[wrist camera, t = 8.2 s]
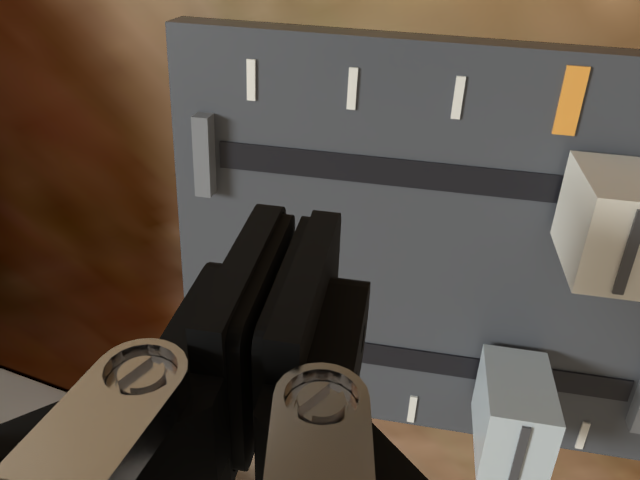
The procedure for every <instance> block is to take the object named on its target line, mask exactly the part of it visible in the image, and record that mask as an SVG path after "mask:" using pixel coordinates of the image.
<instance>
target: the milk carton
mask: <svg viewBox="0 0 640 480" xmlns="http://www.w3.org/2000/svg"><path fill="white" fill-rule="evenodd" d="M66 393H67V392H64V391H62V390H59V389H56V388H53V387H51V386H48V385H45V384H42V383H40V382H37V381H34V380H31V379H29V378H26V377H23V376H21V375H18V374H15V373H12V372H10V371H7V370H4V369H1V368H0V424H1V423H4V422H6V421H9V420H12V419H14V418H17V417H19V416H22V415H24V414H27V413H29V412H32V411H34V410H37V409H39V408H42V407H44V406H47V405H50V404H52V403H55V402H57V401H60V400H61V399H62V397H63V396H64V395H65V394H66Z"/></svg>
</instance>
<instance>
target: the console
mask: <svg viewBox="0 0 640 480" xmlns="http://www.w3.org/2000/svg"><path fill="white" fill-rule="evenodd" d="M165 26H166V40H167V55H168V69H169V84H170V98H171V113H172V127H173V142H174V156H175V171H176V186H177V200H178V215H179V229H180V244H181V258H182V273H183V287H184V298H185V296H186V295H187V293H188V291H189V290H190V288H191V286H192V285H193V283H194V281H195V280H196V278H197V277H198V275H199V273H200V272H201V270H202V268H203V267H204V266H205V264H206V263H208V262H215V263H223V261H224V260H225V258H226V256H227V254H228V253H229V251H230V249H231V247H232V246H233V244H234V242H235V240H236V238H237V237H238V235H239V233H240V231H241V230H242V228H243V226H244V224H245V223H246V221H247V219H248V217H249V216H250V214H251V212H252V210H253V209H254V207H255V205H256V204H265V205H274V206H283V207H285V209H286V214H290V215H294V216H295V230H296V228H297V226H298V223H299V221H300V218H301V216H308V217H310V216H311V213H312V211H313V210H319V211H328V212H337V213H341V236H340V253H339V270H338V278H344V279H353V280H361V281H369V282H370V283H371V286H370V299H369V310H368V320H367V329H366V337H365V345H364V352H363V359H362V365H361V371H360V378H361V379H362V381H363V382H364V383H365V385H366V386H367V388H368V392H369V395H370V403H371V418H375V419H381V420H388V421H394V422H400V423H406V424H413V425H419V426H425V427H432V428H438V429H444V430H451V431H457V432H463V433H469V434H473V425H472V409H471V402H472V397H473V392H474V387H475V382H476V377H477V372H478V367H479V363H480V358H481V353H482V348H483V344H487V345H494V346H502V347H509V348H516V349H523V350H530V351H538V352H545V353H548V357H549V361H550V365H551V369H552V373H553V377H554V381H555V385H556V389H557V393H558V397H559V401H560V405H561V409H562V413H563V417H564V421H565V425H566V430H565V433H564V436H563V439H562V443H561V446H560V448H564V449H570V450H577V451H583V452H589V453H595V454H602V455H608V456H614V457H621V458H627V459H633V460H640V302H637V301H629V300H621V299H614V298H606V297H598V296H590V295H582V294H574V293H571V290H570V288H569V285H568V282H567V279H566V276H565V273H564V271H563V268H562V265H561V262H560V259H559V257H558V254H557V251H556V248H555V245H554V243H553V240H552V237H551V234H550V231H551V227H552V223H553V219H554V215H555V211H556V207H557V202H558V198H559V194H560V190H561V186H562V182H563V178H564V173H565V169H566V165H567V161H568V157H569V153H570V150H572V151H582V152H593V153H603V154H614V155H624V156H635V157H640V49H630V48H616V47H602V46H588V45H574V44H560V43H547V42H533V41H519V40H505V39H491V38H477V37H463V36H450V35H436V34H422V33H408V32H394V31H380V30H366V29H353V28H339V27H325V26H311V25H297V24H283V23H270V22H256V21H242V20H228V19H214V18H200V17H186V16H181V17H178V18H175V19H172V20H169V21H166V22H165Z"/></svg>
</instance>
